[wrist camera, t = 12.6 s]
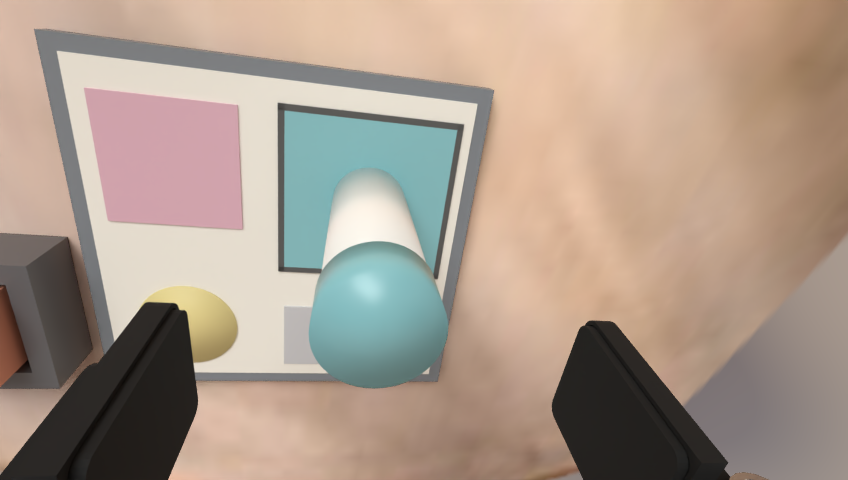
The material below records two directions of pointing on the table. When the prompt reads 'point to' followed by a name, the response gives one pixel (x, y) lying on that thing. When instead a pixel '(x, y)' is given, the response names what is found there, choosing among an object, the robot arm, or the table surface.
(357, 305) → the marker
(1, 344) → the button
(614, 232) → the table surface
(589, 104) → the table surface
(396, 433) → the table surface
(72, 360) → the button housing
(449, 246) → the picture board
